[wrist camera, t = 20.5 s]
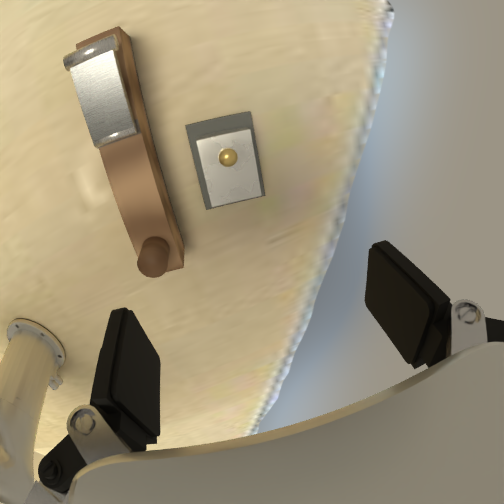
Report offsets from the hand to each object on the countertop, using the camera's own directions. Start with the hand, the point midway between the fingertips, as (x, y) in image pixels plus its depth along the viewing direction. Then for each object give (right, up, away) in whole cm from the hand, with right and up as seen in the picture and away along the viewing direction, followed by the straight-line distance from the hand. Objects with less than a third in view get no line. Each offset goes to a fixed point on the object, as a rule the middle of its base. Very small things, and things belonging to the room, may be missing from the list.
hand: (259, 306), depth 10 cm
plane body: (-13, +13, +17) cm, 25 cm away
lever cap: (-3, +12, +20) cm, 23 cm away
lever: (-12, +12, +11) cm, 20 cm away
